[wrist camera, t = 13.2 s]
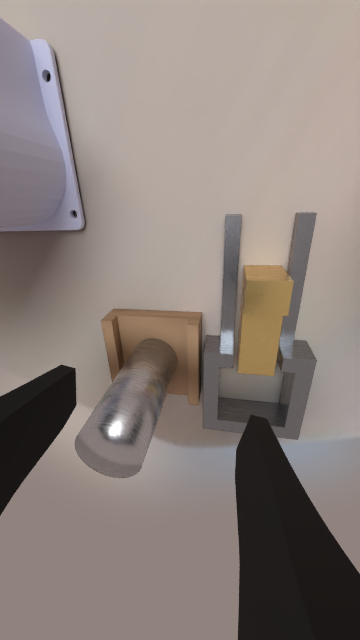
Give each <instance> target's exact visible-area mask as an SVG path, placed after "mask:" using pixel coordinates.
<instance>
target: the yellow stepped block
mask: <svg viewBox="0 0 360 640" xmlns="http://www.w3.org/2000/svg"><path fill="white" fill-rule="evenodd" d="M293 283H294V281H293V280H292V278H291V277H290V276H289V274H288V273H287V272H286V271H285V269H284V268H283V267H282V266H253V265H244V270H243V283H242V297H241V310H240V324H239V337H238V350H237V362H238V373H244V374H256V375H268V376H274V372H275V366H276V359H277V353H278V346H279V340H280V333H281V327H282V320H283V316H288V313H289V307H290V301H291V295H292V289H293Z"/></svg>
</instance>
